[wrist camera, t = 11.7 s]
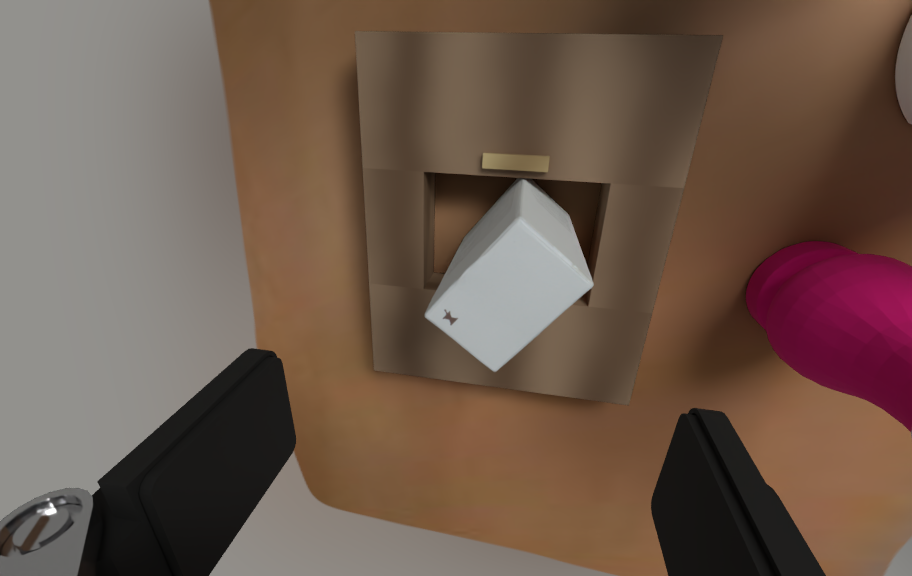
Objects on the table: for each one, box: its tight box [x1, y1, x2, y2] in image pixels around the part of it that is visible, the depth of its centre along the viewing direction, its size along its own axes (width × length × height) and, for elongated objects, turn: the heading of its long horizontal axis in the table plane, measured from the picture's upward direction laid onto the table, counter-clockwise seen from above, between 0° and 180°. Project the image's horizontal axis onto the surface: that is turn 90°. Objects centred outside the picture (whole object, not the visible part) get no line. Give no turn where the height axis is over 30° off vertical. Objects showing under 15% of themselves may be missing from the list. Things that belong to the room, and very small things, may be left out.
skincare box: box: [425, 178, 594, 372], centre depth 22 cm, size 6×4×12 cm
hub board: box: [355, 31, 723, 405], centre depth 26 cm, size 18×22×3 cm
